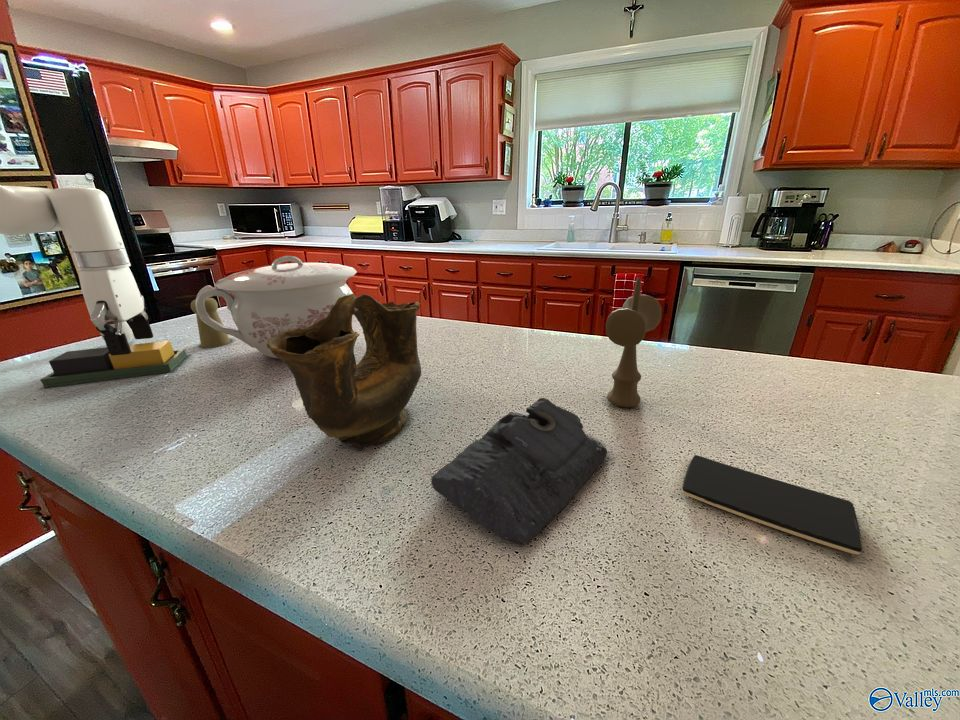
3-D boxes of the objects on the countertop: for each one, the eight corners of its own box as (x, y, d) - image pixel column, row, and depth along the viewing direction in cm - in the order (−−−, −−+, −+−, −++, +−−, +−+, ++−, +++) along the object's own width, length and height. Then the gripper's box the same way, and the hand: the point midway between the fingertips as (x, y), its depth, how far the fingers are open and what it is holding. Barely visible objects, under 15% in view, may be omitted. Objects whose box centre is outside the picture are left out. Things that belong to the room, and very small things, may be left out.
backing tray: (44, 387, 74) (39, 379, 74) (73, 369, 82) (70, 361, 82) (170, 371, 80) (168, 364, 79) (187, 356, 88) (184, 349, 87)
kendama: (650, 394, 65) (669, 273, 58) (634, 420, 58) (653, 285, 50) (613, 386, 69) (627, 270, 61) (594, 409, 61) (606, 281, 54)
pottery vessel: (348, 490, 46) (316, 327, 38) (276, 471, 49) (234, 318, 42) (441, 394, 67) (433, 278, 60) (387, 386, 71) (372, 275, 63)
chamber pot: (383, 329, 101) (372, 246, 93) (336, 374, 76) (316, 266, 68) (280, 329, 104) (261, 248, 96) (203, 372, 79) (169, 267, 71)
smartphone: (692, 453, 48) (855, 501, 40) (690, 460, 49) (851, 510, 41) (680, 487, 43) (865, 551, 35) (678, 495, 43) (861, 561, 35)
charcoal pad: (57, 380, 76) (48, 361, 75) (75, 369, 81) (66, 351, 79) (110, 373, 78) (102, 355, 77) (124, 363, 83) (117, 346, 82)
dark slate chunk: (411, 491, 45) (407, 457, 44) (518, 413, 61) (518, 385, 59) (523, 560, 36) (524, 521, 35) (615, 448, 52) (618, 416, 50)
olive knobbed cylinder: (197, 348, 92) (182, 302, 88) (206, 340, 97) (192, 296, 93) (225, 345, 93) (212, 300, 89) (233, 337, 99) (221, 294, 95)
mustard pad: (115, 373, 79) (108, 354, 77) (129, 363, 83) (122, 345, 82) (165, 367, 81) (158, 349, 79) (176, 357, 86) (170, 340, 84)
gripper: (103, 255, 80) (132, 334, 87) (45, 268, 65) (86, 363, 72) (147, 253, 82) (171, 331, 89) (101, 265, 67) (135, 359, 74)
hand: (133, 345), depth 80 cm, fingers open, 9 cm apart
